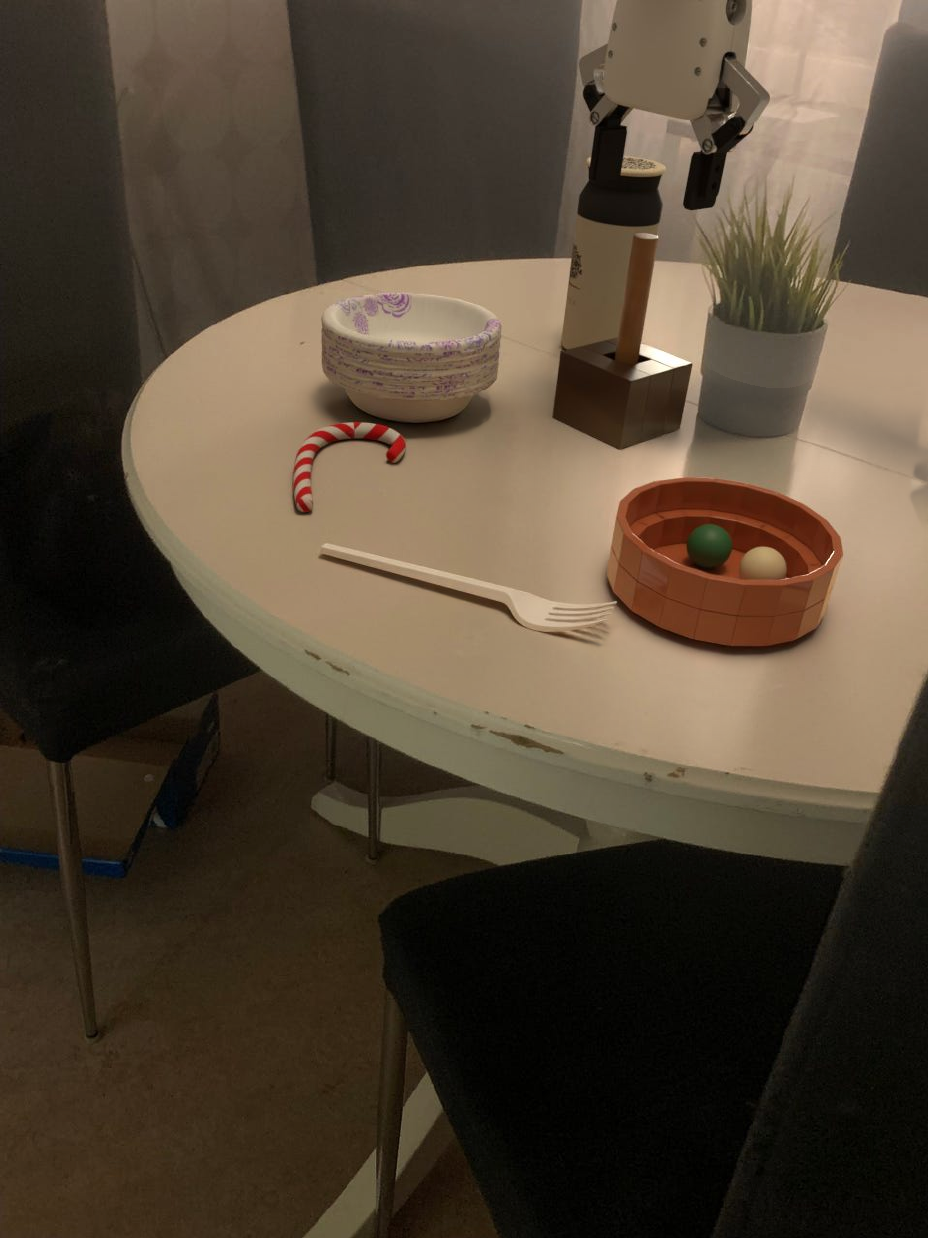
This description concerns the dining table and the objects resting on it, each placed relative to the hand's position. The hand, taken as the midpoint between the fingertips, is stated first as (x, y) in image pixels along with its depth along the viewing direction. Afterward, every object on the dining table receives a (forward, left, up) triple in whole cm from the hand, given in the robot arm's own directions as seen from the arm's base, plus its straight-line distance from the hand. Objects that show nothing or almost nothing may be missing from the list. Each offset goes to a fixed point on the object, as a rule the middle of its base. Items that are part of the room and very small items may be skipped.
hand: (649, 193), depth 84 cm
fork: (+30, +14, -19) cm, 38 cm away
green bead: (+14, +21, -17) cm, 31 cm away
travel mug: (-13, -14, -19) cm, 27 cm away
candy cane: (+26, -5, -19) cm, 33 cm away
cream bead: (+14, +25, -17) cm, 33 cm away
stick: (0, 0, -19) cm, 19 cm away
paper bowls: (+13, -13, -19) cm, 27 cm away
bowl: (+16, +23, -19) cm, 34 cm away
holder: (0, 0, -19) cm, 19 cm away
